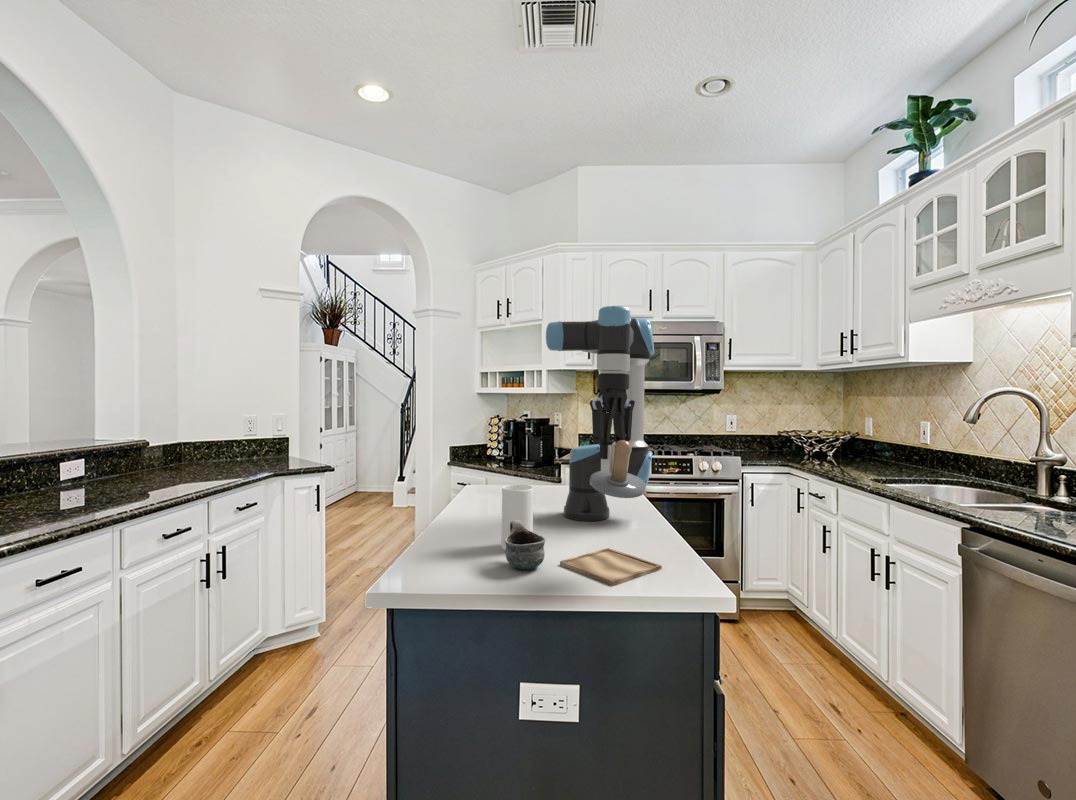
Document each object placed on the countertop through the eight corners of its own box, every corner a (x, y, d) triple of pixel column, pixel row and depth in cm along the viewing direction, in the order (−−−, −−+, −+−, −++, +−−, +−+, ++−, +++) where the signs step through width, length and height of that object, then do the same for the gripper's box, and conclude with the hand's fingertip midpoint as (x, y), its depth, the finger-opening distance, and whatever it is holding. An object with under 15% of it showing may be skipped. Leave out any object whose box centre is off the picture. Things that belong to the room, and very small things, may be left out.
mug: (517, 577, 121) (517, 533, 121) (491, 561, 132) (491, 520, 131) (552, 569, 127) (553, 527, 126) (524, 555, 137) (525, 515, 137)
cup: (528, 553, 139) (529, 491, 138) (498, 550, 140) (498, 489, 140) (535, 543, 147) (536, 485, 146) (506, 541, 148) (506, 483, 148)
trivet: (608, 551, 141) (608, 548, 141) (661, 569, 128) (661, 565, 128) (560, 564, 130) (560, 561, 130) (612, 585, 117) (613, 581, 117)
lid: (616, 470, 135) (622, 428, 132) (656, 490, 126) (664, 445, 123) (578, 480, 127) (584, 435, 124) (618, 502, 118) (625, 455, 115)
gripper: (624, 373, 135) (622, 467, 136) (577, 372, 125) (575, 473, 125) (648, 373, 129) (646, 471, 130) (601, 371, 119) (599, 477, 120)
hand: (611, 471), depth 128 cm, fingers closed on lid, 3 cm apart
